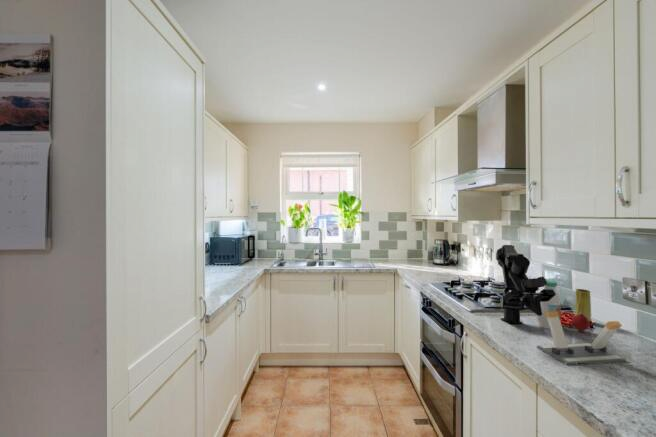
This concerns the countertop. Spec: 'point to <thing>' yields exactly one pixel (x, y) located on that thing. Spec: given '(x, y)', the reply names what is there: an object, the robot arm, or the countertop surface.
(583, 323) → the onion
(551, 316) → the lever
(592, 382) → the countertop surface
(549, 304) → the milk bottle
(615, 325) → the on lever
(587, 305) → the vase
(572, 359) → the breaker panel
